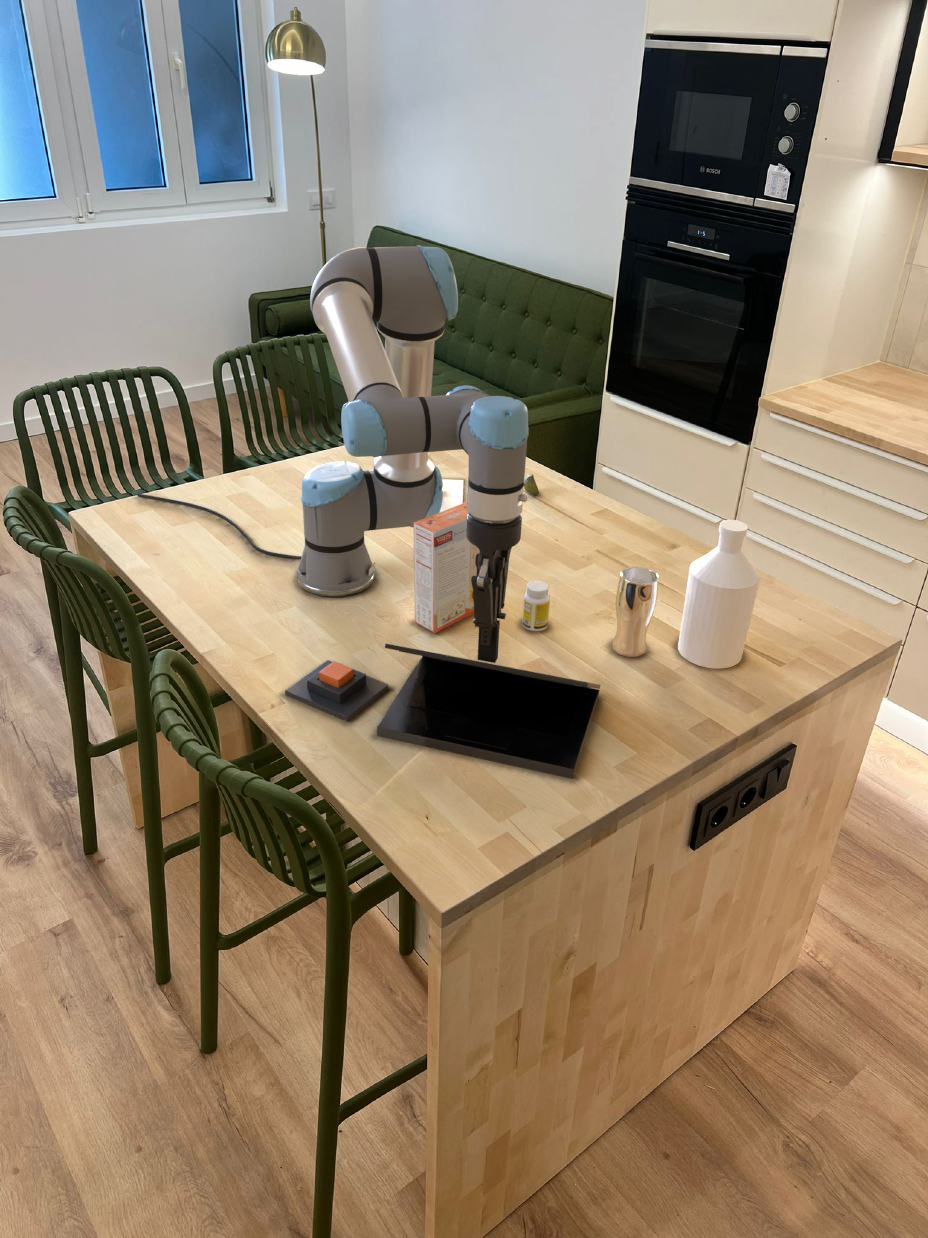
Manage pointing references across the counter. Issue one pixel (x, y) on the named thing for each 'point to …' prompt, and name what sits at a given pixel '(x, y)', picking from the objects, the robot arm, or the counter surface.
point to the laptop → (492, 716)
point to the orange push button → (337, 693)
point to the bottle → (719, 602)
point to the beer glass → (634, 609)
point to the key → (336, 674)
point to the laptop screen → (493, 666)
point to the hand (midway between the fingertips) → (487, 658)
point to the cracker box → (443, 569)
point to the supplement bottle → (536, 606)
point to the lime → (531, 485)
